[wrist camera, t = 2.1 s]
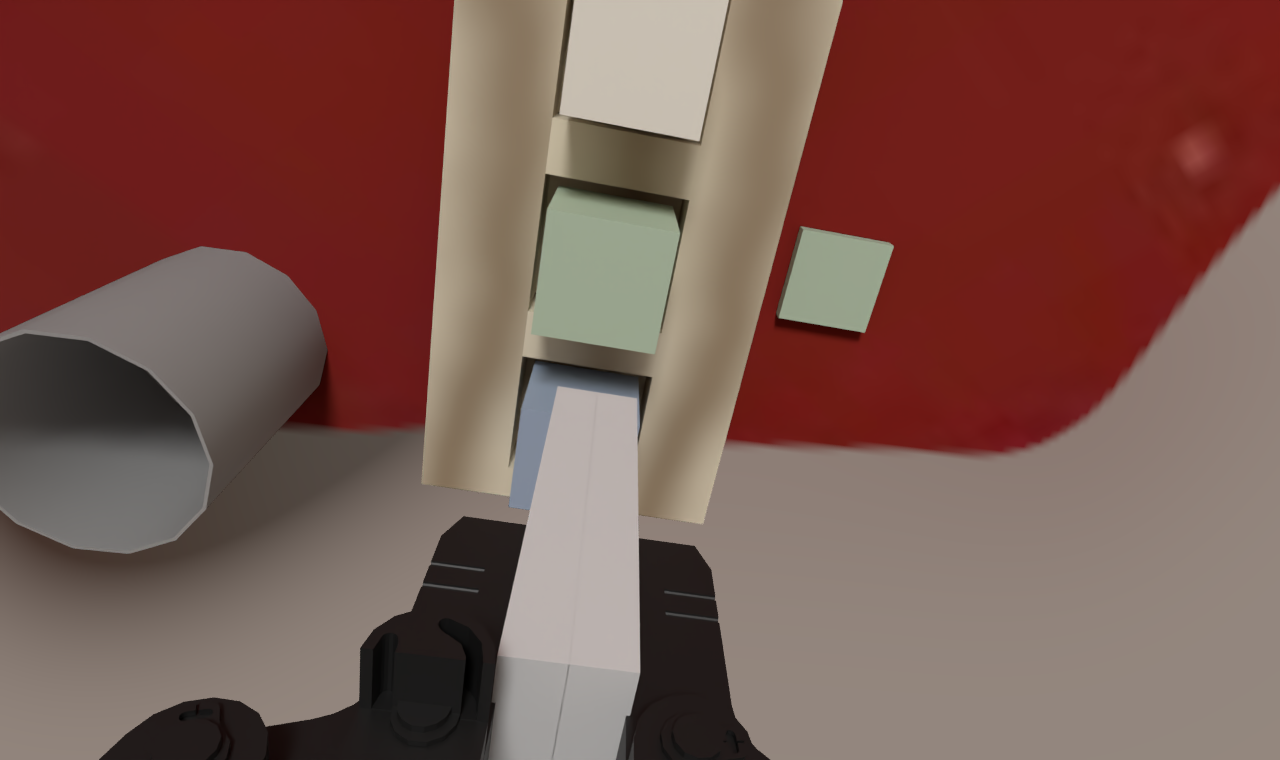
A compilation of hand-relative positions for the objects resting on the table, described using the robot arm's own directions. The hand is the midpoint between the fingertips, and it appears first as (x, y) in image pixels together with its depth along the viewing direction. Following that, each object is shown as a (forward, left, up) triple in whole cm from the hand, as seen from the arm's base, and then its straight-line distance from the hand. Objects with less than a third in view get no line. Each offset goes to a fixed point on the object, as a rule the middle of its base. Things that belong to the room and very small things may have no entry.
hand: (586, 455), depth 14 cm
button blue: (0, -8, -17) cm, 18 cm away
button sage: (0, 0, -17) cm, 17 cm away
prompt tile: (+10, 0, -19) cm, 21 cm away
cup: (-16, -8, -19) cm, 26 cm away
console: (0, 0, -19) cm, 19 cm away
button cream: (0, +7, -17) cm, 18 cm away
